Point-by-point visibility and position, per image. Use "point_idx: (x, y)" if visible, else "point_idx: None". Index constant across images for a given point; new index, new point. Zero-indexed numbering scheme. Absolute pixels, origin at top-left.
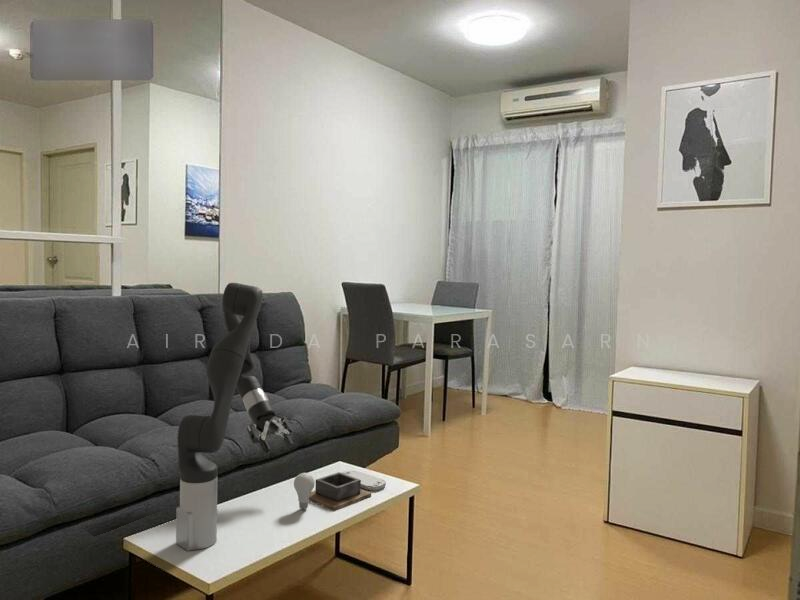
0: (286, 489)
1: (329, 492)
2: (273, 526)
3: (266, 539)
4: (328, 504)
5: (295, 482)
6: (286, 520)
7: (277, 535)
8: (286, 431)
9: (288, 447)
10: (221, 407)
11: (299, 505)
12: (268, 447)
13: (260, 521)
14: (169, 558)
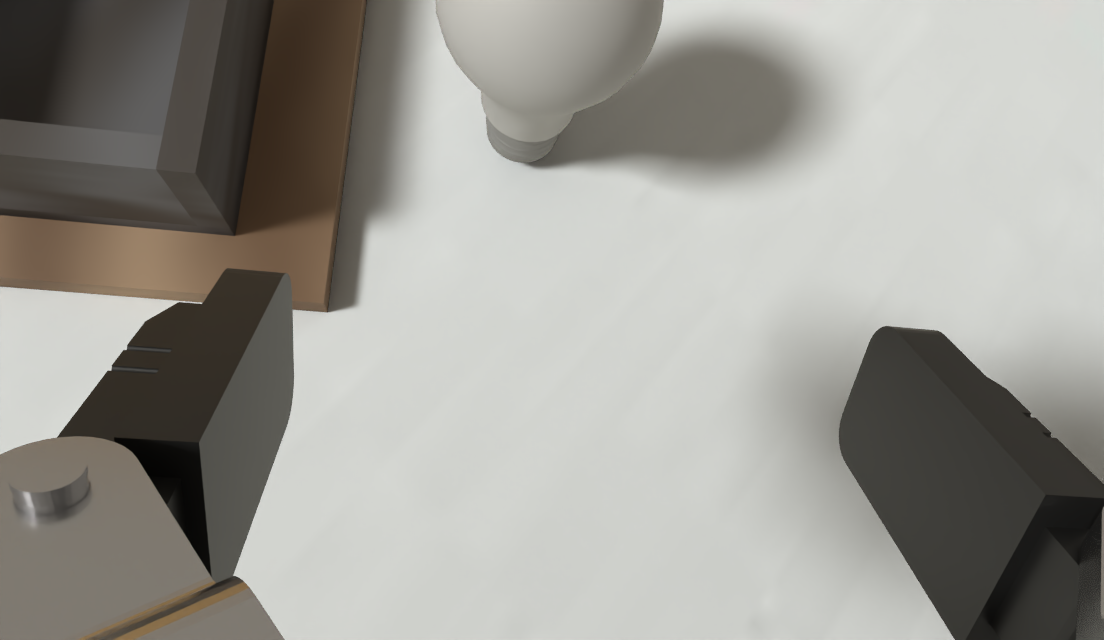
0: (272, 607)
1: (249, 21)
2: (861, 108)
3: (990, 17)
4: (358, 2)
5: (661, 9)
6: (739, 107)
7: (913, 4)
8: (72, 525)
9: (288, 402)
10: None
11: (555, 139)
12: (953, 361)
13: (884, 231)
14: None
